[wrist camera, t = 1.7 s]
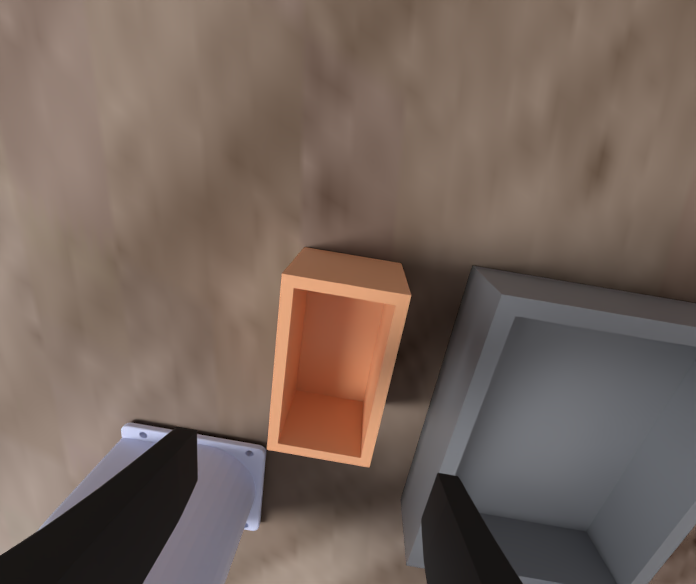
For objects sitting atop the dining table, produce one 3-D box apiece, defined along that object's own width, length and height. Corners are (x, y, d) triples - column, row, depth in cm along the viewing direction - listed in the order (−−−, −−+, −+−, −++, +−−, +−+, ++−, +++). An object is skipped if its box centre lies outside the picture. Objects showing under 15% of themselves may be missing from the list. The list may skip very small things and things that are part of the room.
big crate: (400, 499, 23) (406, 565, 19) (472, 265, 16) (501, 294, 13) (587, 532, 22) (630, 604, 19) (729, 309, 16) (835, 350, 13)
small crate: (288, 390, 20) (266, 449, 16) (304, 247, 17) (281, 273, 12) (369, 404, 20) (369, 467, 16) (401, 263, 17) (411, 295, 12)
